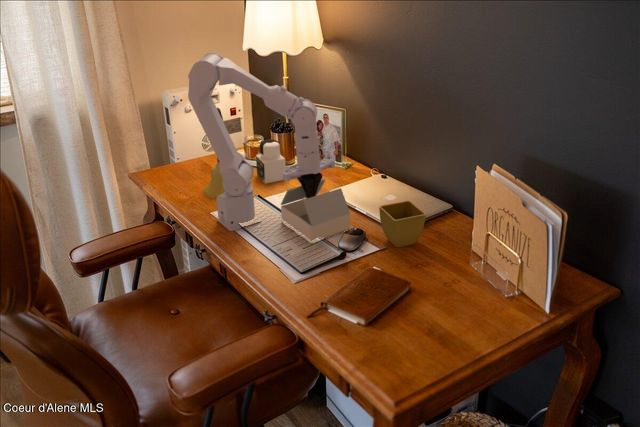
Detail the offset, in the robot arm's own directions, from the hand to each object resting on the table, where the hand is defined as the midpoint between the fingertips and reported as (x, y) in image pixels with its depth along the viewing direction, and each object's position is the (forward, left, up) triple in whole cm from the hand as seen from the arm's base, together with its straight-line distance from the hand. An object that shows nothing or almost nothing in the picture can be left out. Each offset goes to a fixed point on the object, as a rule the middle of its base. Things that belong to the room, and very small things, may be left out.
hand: (311, 199), depth 154 cm
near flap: (0, -7, +1) cm, 7 cm away
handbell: (-9, +34, -7) cm, 36 cm away
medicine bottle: (+7, +33, -7) cm, 34 cm away
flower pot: (+13, -21, -7) cm, 26 cm away
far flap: (0, +3, +1) cm, 4 cm away
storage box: (0, -2, -7) cm, 7 cm away
